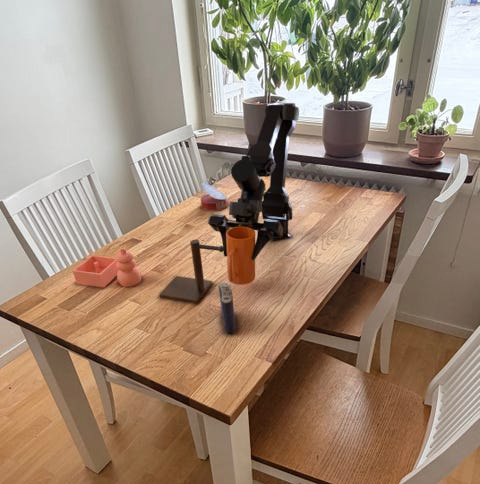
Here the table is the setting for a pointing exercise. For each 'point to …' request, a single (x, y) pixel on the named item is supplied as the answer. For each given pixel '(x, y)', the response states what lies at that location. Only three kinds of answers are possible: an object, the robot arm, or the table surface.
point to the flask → (227, 308)
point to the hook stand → (190, 279)
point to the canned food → (213, 198)
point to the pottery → (108, 270)
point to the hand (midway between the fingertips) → (238, 257)
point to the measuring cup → (240, 255)
